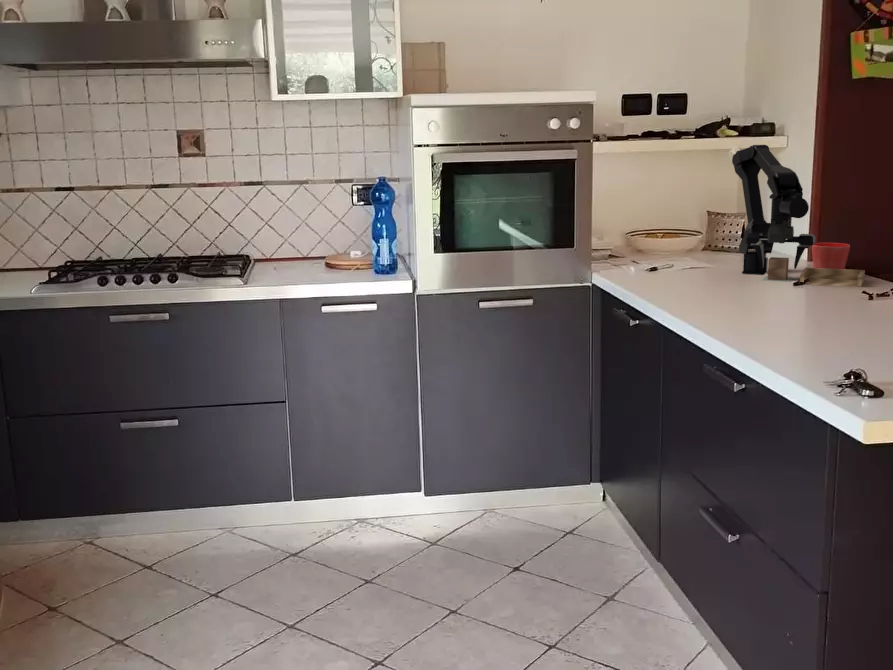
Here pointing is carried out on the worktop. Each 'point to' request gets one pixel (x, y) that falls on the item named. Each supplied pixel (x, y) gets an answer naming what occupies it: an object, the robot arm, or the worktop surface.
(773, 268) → the block
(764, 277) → the mat
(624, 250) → the worktop surface
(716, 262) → the worktop surface
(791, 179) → the robot arm
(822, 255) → the flower pot
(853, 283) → the crate
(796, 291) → the worktop surface
